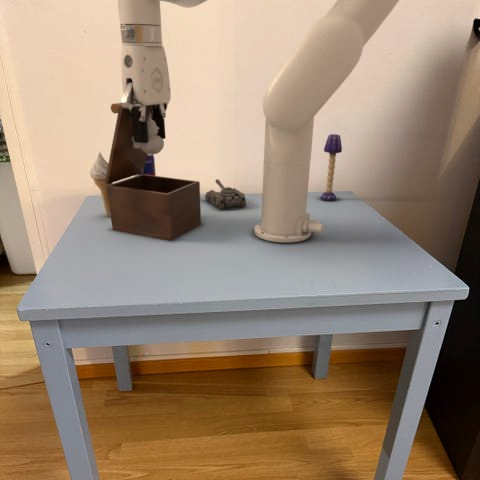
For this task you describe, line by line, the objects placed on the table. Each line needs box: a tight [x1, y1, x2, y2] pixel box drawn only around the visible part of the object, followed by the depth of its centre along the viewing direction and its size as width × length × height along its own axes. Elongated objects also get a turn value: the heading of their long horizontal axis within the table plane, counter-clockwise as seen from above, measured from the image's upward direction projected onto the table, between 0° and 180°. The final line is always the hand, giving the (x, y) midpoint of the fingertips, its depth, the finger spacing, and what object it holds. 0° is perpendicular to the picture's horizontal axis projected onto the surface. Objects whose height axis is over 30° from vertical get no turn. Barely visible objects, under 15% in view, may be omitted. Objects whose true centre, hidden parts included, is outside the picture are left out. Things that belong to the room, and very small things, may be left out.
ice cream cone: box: [89, 151, 114, 217], centre depth 106 cm, size 6×6×15 cm
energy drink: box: [134, 154, 157, 177], centre depth 119 cm, size 5×5×12 cm
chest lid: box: [105, 102, 157, 184], centre depth 96 cm, size 16×13×5 cm
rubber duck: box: [132, 113, 165, 155], centre depth 93 cm, size 5×7×8 cm
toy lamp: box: [320, 133, 343, 202], centre depth 121 cm, size 5×5×17 cm
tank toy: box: [204, 178, 247, 211], centre depth 119 cm, size 12×10×5 cm
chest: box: [107, 174, 202, 242], centre depth 101 cm, size 16×13×10 cm
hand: (150, 139), depth 94 cm, fingers closed on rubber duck, 5 cm apart
